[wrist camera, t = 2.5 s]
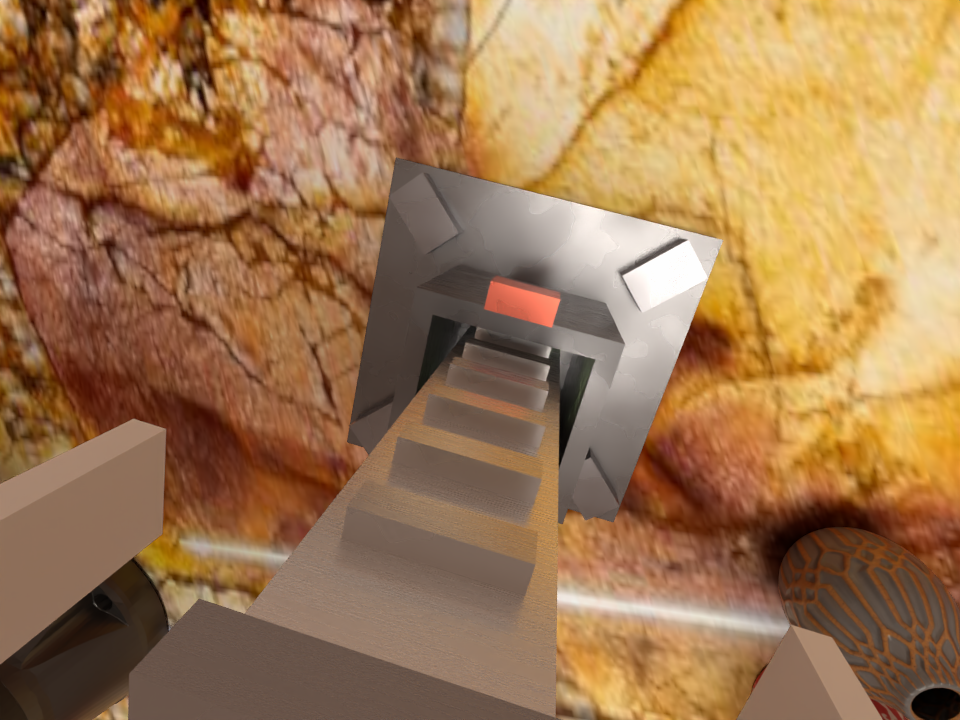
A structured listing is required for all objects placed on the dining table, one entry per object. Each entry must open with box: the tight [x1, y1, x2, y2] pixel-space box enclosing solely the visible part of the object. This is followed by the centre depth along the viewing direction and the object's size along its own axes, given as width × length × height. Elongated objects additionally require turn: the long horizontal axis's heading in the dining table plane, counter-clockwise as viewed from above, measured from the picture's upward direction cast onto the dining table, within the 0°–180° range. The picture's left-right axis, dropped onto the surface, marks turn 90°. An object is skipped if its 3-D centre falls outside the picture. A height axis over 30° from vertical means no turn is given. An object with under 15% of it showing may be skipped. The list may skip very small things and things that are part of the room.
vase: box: [778, 527, 960, 720], centre depth 24 cm, size 7×7×9 cm
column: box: [128, 325, 561, 720], centre depth 16 cm, size 5×5×22 cm
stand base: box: [347, 158, 723, 524], centre depth 23 cm, size 16×16×10 cm
